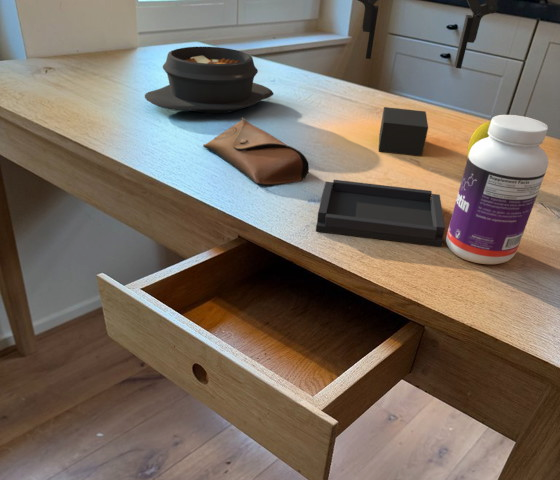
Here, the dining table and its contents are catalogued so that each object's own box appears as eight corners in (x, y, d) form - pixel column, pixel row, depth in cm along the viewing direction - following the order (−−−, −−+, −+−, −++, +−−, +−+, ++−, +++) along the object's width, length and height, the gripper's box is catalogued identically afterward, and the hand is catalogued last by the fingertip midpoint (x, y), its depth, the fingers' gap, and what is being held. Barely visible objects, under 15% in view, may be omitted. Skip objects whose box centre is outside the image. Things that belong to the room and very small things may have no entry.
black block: (419, 138, 97) (425, 111, 94) (422, 156, 90) (428, 127, 87) (379, 134, 98) (383, 106, 95) (378, 151, 91) (383, 122, 88)
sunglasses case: (197, 143, 87) (217, 101, 85) (231, 161, 92) (250, 122, 90) (258, 185, 76) (282, 138, 74) (293, 203, 81) (316, 159, 79)
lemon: (497, 184, 83) (515, 127, 78) (459, 177, 84) (474, 121, 79) (499, 172, 87) (516, 117, 82) (463, 165, 88) (477, 111, 83)
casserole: (182, 129, 93) (179, 73, 88) (126, 101, 104) (120, 49, 98) (294, 109, 107) (297, 59, 101) (234, 86, 117) (235, 39, 112)
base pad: (435, 206, 75) (439, 191, 74) (441, 247, 66) (446, 231, 65) (324, 193, 77) (326, 178, 75) (315, 231, 67) (317, 215, 66)
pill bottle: (446, 231, 70) (479, 106, 60) (513, 243, 68) (557, 117, 59) (441, 260, 64) (477, 127, 54) (514, 274, 62) (564, 140, 53)
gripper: (350, -133, 70) (329, 58, 84) (554, -116, 69) (499, 76, 82) (353, -130, 76) (333, 48, 90) (541, -114, 74) (492, 65, 88)
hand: (412, 62), depth 86 cm, fingers open, 13 cm apart
